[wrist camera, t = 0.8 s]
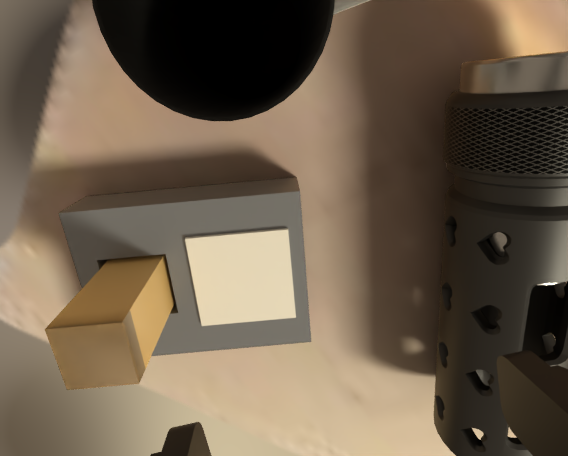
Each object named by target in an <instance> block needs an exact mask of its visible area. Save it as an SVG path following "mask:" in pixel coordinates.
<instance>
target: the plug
mask: <svg viewBox="0 0 568 456" xmlns="http://www.w3.org/2000/svg"><path fill="white" fill-rule="evenodd" d="M175 301H176V300H175V295H174V291H173V286H172V281H171V277H170V272H169V267H168V263H167V258H166V254H160V255H149V256H138V257H127V258H116V259H109V260H108V261H107V262H106V263H105V264H104V265H103V266H102V268H101V269H100V270H99V271H98V272H97V273H96V274H95V275H94V276H93V277H92V278H91V280H90V281H89V282H88V283H87V284H86V285H85V286H84V287H83V288H82V289H81V291H80V292H79V293H78V294H77V295H76V296H75V297H74V298H73V299H72V300H71V301H70V303H69V304H68V305H67V306H66V307H65V308H64V309H63V310H62V311H61V312H60V313H59V315H58V316H57V317H56V318H55V319H54V320H53V321H52V322H51V323H50V324H49V326H48V327H47V328H46V329H45V331H46V334H47V337H48V339H49V342H50V345H51V348H52V350H53V353H54V356H55V358H56V361H57V364H58V367H59V369H60V372H61V375H62V378H63V380H64V383H65V386H66V388H67V390H73V389H84V388H96V387H107V386H118V385H129V384H139V382H140V380H141V378H142V376H143V373H144V371H145V369H146V367H147V364H148V362H149V360H150V357H151V355H152V353H153V351H154V348H155V346H156V344H157V342H158V339H159V337H160V335H161V333H162V330H163V328H164V326H165V323H166V321H167V319H168V317H169V314H170V312H171V310H172V308H173V305H174V303H175Z"/></svg>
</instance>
